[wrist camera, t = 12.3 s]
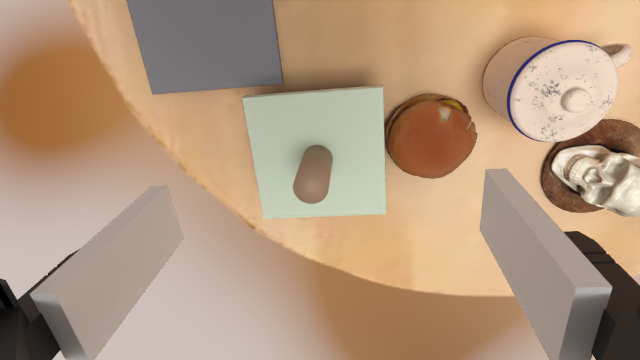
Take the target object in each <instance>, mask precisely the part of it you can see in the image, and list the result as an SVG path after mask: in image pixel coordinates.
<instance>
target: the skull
mask: <svg viewBox="0 0 640 360" xmlns="http://www.w3.org/2000/svg"><path fill="white" fill-rule="evenodd" d="M598 123H599V124H598ZM598 123H597V124H596V125H595V126H594V127H593V128H591V129H590V130H588V131H587V132H585V133H583V134H581V135H579V136H577V137H575V138H572V139H569V140H565V141H561V142H560V143H559V144H558V146H557V147H556V148H555V149H554V150H553V151H552V153H551V154H550V156H549V157H548V160H547V161H546V163H545V166H544V167H545V168H544V170H543V176H542V177H543V181H542V183H543V188H544V191H545V194H546V196H547V198H548V199H549V200H550V201H551V202H552V203H553V204H554V205H556V206H557V207H559V208H561V209H563V210H566V211H568V212H569V211H570V212H576V213H577V212H578V213H586V212H593V211H598V210H601V209H604V208H606V209H607V210H610V211H612V212H614V213H616V214H618V215H621V216H625V217H634V216H638V215H640V129H639V128H638V127H636V126H635V125H633V124H631V123H628V122H625V121H619V120H605V121H600V122H598Z"/></svg>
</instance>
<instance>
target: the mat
mask: <svg viewBox="0 0 640 360" xmlns="http://www.w3.org/2000/svg"><path fill="white" fill-rule="evenodd" d="M126 1H127V4H128V8H129V12H130V15H131V19H132V22H133V26H134V30H135V33H136V37H137V40H138V44H139V48H140V51H141V55H142V58H143V62H144V65H145V69H146V73H147V76H148V80H149V83H150V87H151V91H152V94H165V93H177V92H189V91H201V90H214V89H226V88H238V87H250V86H263V85H275V84H283V75H282V68H281V60H280V53H279V45H278V37H277V30H276V22H275V15H274V7H273V0H126Z"/></svg>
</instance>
